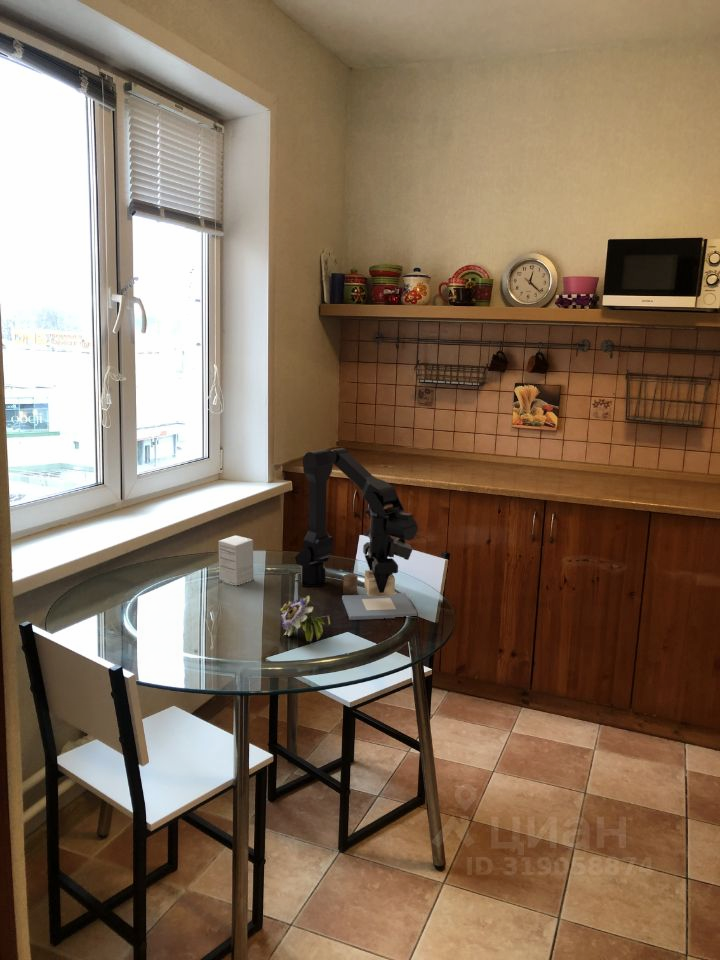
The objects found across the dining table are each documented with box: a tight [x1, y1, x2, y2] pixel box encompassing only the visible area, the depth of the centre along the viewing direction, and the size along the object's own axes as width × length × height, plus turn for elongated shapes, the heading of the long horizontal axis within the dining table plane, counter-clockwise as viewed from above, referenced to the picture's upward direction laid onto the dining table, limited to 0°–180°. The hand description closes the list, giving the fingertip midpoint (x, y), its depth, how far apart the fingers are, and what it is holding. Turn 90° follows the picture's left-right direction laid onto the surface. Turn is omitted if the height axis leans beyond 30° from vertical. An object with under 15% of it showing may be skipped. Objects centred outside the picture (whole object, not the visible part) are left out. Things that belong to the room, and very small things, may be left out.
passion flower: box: [280, 595, 331, 642], centre depth 192 cm, size 11×11×12 cm
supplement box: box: [217, 535, 255, 586], centre depth 227 cm, size 7×7×13 cm
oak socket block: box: [363, 569, 396, 596], centre depth 209 cm, size 7×7×5 cm
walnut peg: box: [342, 573, 359, 595], centre depth 221 cm, size 4×4×5 cm
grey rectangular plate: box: [341, 592, 418, 621], centre depth 211 cm, size 18×15×1 cm
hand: (379, 587), depth 210 cm, fingers closed on oak socket block, 7 cm apart
